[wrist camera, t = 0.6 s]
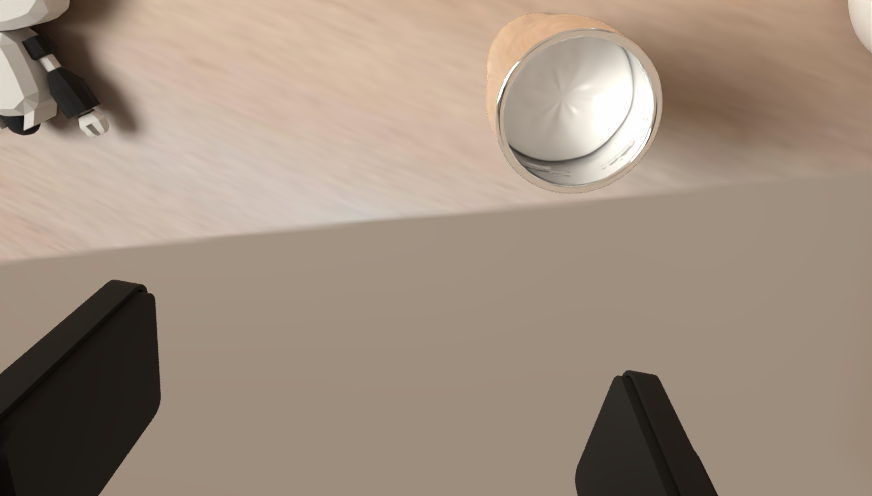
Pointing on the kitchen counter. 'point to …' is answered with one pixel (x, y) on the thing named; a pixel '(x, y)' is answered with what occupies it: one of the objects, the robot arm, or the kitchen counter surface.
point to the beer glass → (571, 101)
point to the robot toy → (39, 73)
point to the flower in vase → (862, 20)
